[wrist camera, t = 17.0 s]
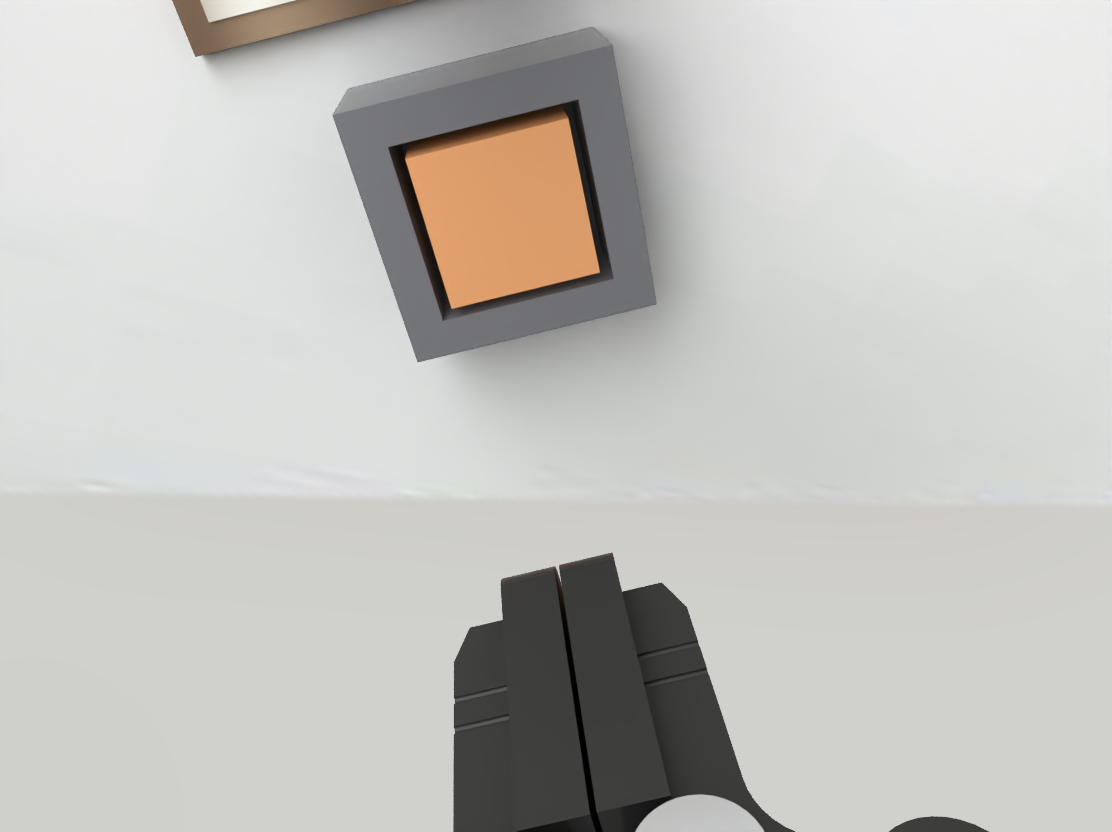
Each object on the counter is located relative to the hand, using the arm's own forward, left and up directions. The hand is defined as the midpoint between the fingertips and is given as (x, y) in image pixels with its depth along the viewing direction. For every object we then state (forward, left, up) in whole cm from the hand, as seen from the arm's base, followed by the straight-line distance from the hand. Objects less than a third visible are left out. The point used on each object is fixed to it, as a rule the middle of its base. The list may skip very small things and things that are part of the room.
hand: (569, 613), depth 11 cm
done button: (0, 0, -20) cm, 20 cm away
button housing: (0, 0, -21) cm, 21 cm away
